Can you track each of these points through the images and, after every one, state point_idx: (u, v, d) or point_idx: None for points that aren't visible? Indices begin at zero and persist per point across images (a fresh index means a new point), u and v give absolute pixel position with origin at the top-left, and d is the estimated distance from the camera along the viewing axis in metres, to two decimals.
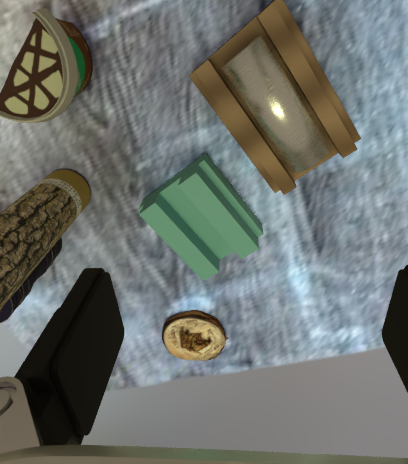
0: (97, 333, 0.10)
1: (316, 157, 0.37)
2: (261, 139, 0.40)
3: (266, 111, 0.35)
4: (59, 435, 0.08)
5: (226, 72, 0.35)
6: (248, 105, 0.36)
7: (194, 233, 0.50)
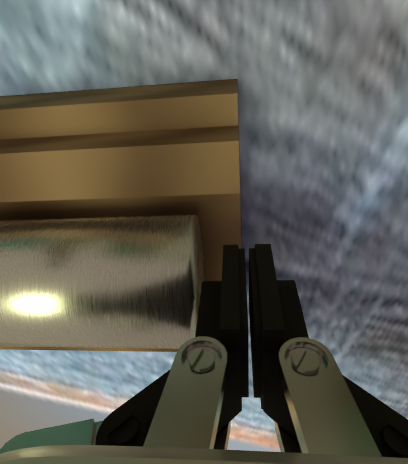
0: None
1: None
2: None
3: (6, 305, 0.11)
4: None
5: (171, 254, 0.11)
6: (52, 252, 0.11)
7: None
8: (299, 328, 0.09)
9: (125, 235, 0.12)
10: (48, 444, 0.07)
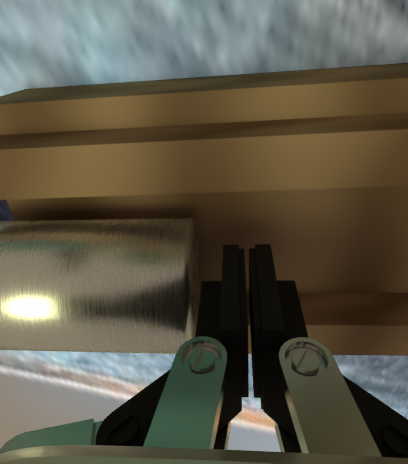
0: None
1: None
2: (171, 189, 0.11)
3: None
4: None
5: (168, 257, 0.11)
6: (45, 254, 0.11)
7: None
8: (300, 328, 0.09)
9: (121, 238, 0.11)
10: (48, 444, 0.07)
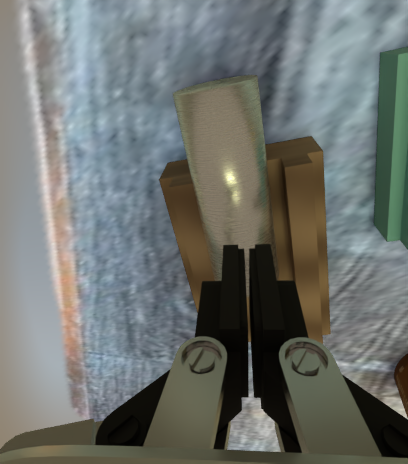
0: None
1: (196, 105, 0.18)
2: (296, 260, 0.26)
3: (246, 221, 0.21)
4: None
5: None
6: (268, 230, 0.23)
7: None
8: (300, 327, 0.09)
9: (275, 254, 0.24)
10: (48, 444, 0.07)
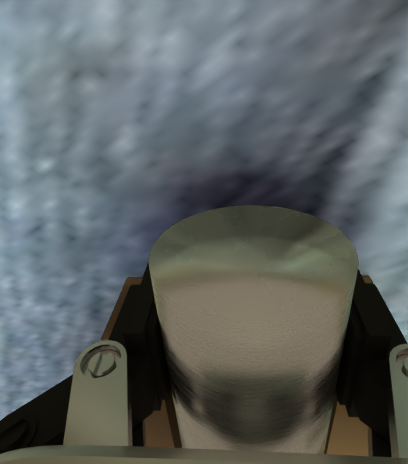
0: None
1: (234, 341, 0.07)
2: None
3: None
4: (150, 396, 0.09)
5: None
6: None
7: None
8: (395, 333, 0.09)
9: None
10: None
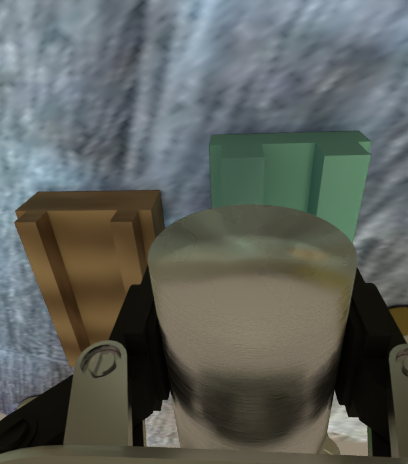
0: None
1: (233, 337, 0.07)
2: None
3: None
4: (150, 396, 0.09)
5: None
6: None
7: None
8: (395, 333, 0.09)
9: None
10: None
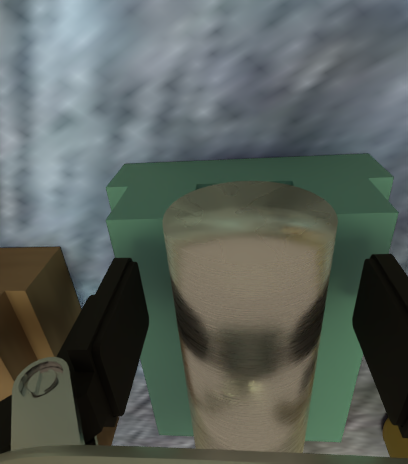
0: (129, 319, 0.10)
1: (240, 283, 0.08)
2: None
3: (288, 437, 0.12)
4: (99, 414, 0.09)
5: None
6: None
7: None
8: None
9: None
10: None
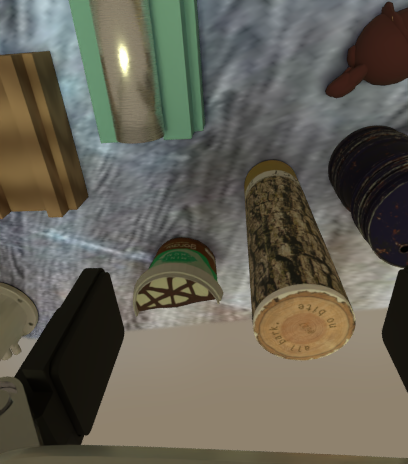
0: (97, 333, 0.10)
1: None
2: (21, 134, 0.37)
3: (139, 73, 0.30)
4: (59, 435, 0.08)
5: (161, 132, 0.34)
6: (155, 87, 0.32)
7: None
8: None
9: (161, 113, 0.33)
10: None
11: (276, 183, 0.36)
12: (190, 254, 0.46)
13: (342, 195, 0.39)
